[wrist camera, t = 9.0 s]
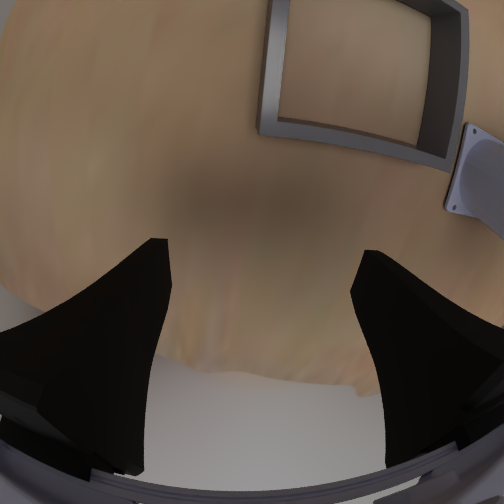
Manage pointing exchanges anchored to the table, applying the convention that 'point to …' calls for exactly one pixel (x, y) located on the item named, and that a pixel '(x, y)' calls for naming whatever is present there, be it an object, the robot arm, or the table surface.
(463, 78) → the grey square frame
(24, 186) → the table surface
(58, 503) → the robot arm
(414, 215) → the table surface
